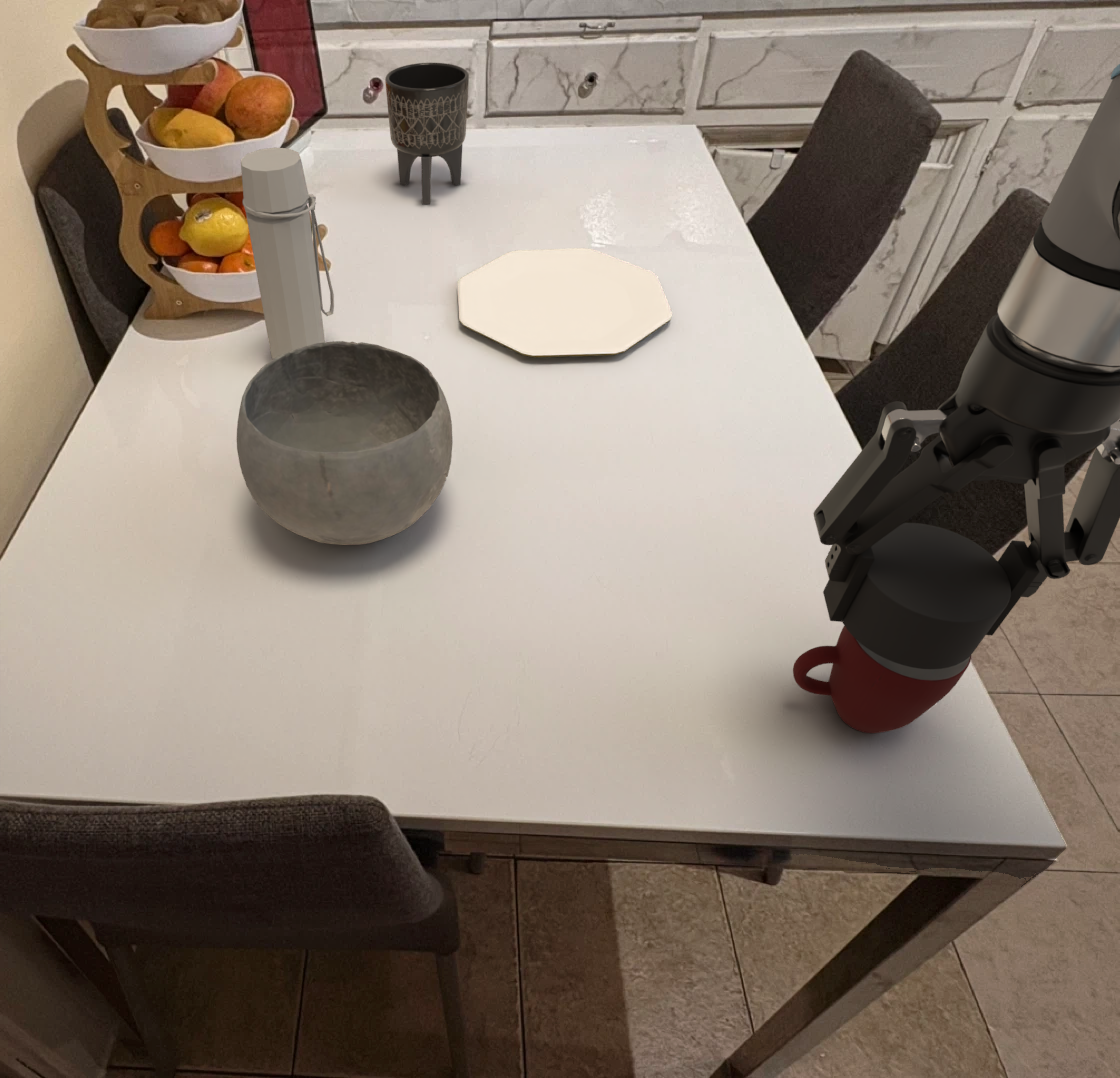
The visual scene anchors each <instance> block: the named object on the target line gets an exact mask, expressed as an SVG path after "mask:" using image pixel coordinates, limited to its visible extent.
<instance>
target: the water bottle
mask: <svg viewBox="0 0 1120 1078" xmlns="http://www.w3.org/2000/svg"><path fill="white" fill-rule="evenodd" d="M240 171H241V182H242V193H243V198H242V206H243V208H244V211H245V216H246V221H247V228H248V232H249V238H250V243H251V250H252V255H253V261H254V266H255V267H254V268H255V272H256V279H257V284H258V289H259V294H260V300H261V306H262V307H261V308H262V312H263V317H264V322H265V328H266V334H267V340H268V346H269V351H270V356H271V361H272V360H273V359H275V358H276V357H278V356H280V355H283V354H285V353H287V352H290V351H293V350H295V349H298V348H301V347H305V346H308V345H312V344H316V343H323V342H326V337H325V330H324V321H323V315H325V316H326V317H329V316H333V314H334V311H335V294H334V290H333V285H332V281H331V276H330V272H329V268H328V264H327V260H326V259H327V258H326V255H325V250H324V246H323V242H322V238H321V233H320V230H319V229H320V228H319V225H318V221H317V217H316V212H315V210H316V204H317V202H316V200H317V197H316V196H315V195H314V194H313V193H309V190H308V185H307V180H306V176H305V172H304V167H303V162H302V157H301V155H300V153H299V152H298V151H297V150H294V149H291V148H287V147H269V148H267V147H266V148H260V149H256V150H254V151H251V152H248V153H247V154H245V155H244V156H243V157H242V158H241V159H240ZM317 241H318V242H317ZM317 244H318V245H317ZM318 246H319V249H320V253H321V258H322V262H323V267H324V272H325V276H326V281H327V284H328V290H329V296H330V297H329V298H330V300H329V301H330V305H329V306H330V307H329V310H328V311H327V312H326V311H325V310H324V306H323V295H322V287H321V286H322V285H321V283H322V282H321V275H320V266H319V265H320V264H319V256H318V255H319V253H318Z"/></svg>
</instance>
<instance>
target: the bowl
mask: <svg viewBox="0 0 1120 1078" xmlns="http://www.w3.org/2000/svg"><path fill="white" fill-rule="evenodd" d="M448 404H449V403H448V401H447V398H446V396H445V392H444V391H443V389H442V387H441V385H440V384H439V382H438V381H437V379H436V378H435V376H434V375H433V373H432V371H431V370H430V369H429V368H428V367H427V366H425V365H424V364H423V363H422V362H421V361H419V360H418V359H416V358H415V357H413V356H410V355H408V354H405V353H403V352H401V351H400V352H399V351H397V350H394V349H391V348H388V347H385V346H382V345H379V344H374V343H368V342H355V341H344V340H340V341H325V342H323V343H316V344H312V345H308V346H305V347H301V348H298V349H295V350H293V351H290V352H287V353H285V354H283V355H280V356H278V357H276V358H275V359H273V360H272V359H271V360H270V361H268V362H267V363H265V364H264V365H263V366H261V367H260V369H259V370H258V371H257V372H256V374H255V375H254V376H253V377H251V379H250V381H249V382H248V383H247V385H246V387H245V389H244V391H243V394H242V395H241V401H240V405H239V410H238V416H237V426H236V451H237V457H238V463H239V467H240V470H241V474H242V477H243V480H244V483H245V485H246V488H247V490H248V491H249V493H250V495H251V497H252V499H253V500H254V502H255V503H256V504H257V505H258V506H259V507H260V509H261V510H262V511H263V512H264V513H265V514H266V515H267V516H268V517H270V518H271V520H273V521H274V522H275V523H277V524H278V525H279V526H281V527H283V528H284V529H286V530H288V531H289V532H292V533H293V534H296V535H299V536H301V537H303V538H306V539H309V540H311V541H314V542H318V543H320V544H329V545H340V546H354V545H355V546H357V545H366V544H371V543H375V542H379V541H382V540H384V539H388V538H390V537H392V536H395V535H397V534H399V533H401V532H403V531H404V530H407V529H408V528H409V527H411V526H413V525H414V524H415V523H417V522H418V520H419V519H420V518H422V517H423V516H424V515H425V514H426V513H427V512H428V511H429V509H431V507H432V505H433V504H434V502H435V501H436V499H437V498H438V496H439V495H440V493H441V492H442V489H443V488H444V486H445V483H446V481H447V477H448V476H449V472H450V468H451V465H452V456H453V455H452V454H453V442H454V441H453V423H452V416H451V411H450V408H449V405H448Z"/></svg>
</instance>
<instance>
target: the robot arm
mask: <svg viewBox="0 0 1120 1078" xmlns="http://www.w3.org/2000/svg"><path fill="white" fill-rule="evenodd" d="M1110 80H1111V82H1110V84H1109V86H1108V87H1107V90H1106V92H1105V94H1104V96H1103V98H1102V99H1101V102H1100V103H1099V106H1098V108H1097V109H1096V112H1095V114H1094V116H1093V117H1092V119H1091V121H1090V123H1089V126H1088V128H1087V129H1086V132H1085V133H1084V135H1083V137H1082V139H1081V141H1080V143H1079V145H1078V147H1077V149H1076V150H1075V153H1074V154H1073V157H1072V159H1071V161H1070V163H1069V164H1068V167H1067V169H1066V171H1065V173H1064V174H1063V177H1062V179H1061V181H1060V182H1059V185H1058V187H1057V189H1056V190H1055V192H1054V195H1053V197H1052V199H1051V200H1050V203H1049V204H1048V207H1047V209H1046V210H1045V212H1044V215H1043V216H1042V218H1041V222H1040V223H1039V225H1038V227H1037V228H1036V230H1035V232H1034V234H1033V236H1032V238H1031V240H1030V242H1029V244H1028V246H1027V247H1026V249H1025V252H1024V254H1023V255H1022V257H1021V259H1020V261H1019V263H1018V265H1017V267H1016V269H1015V271H1014V273H1013V274H1012V277H1011V278H1010V280H1009V282H1008V285H1007V287H1006V288H1005V290H1004V292H1003V294H1002V296H1001V298H1000V300H999V302H998V304H997V313H996V314H994V315H993V316H992V317H991V318H989V320H988V322H987V324H986V325H985V327H984V329H983V331H982V333H981V336H980V337H979V340H978V341H977V343H976V345H975V347H974V349H973V351H972V353H971V355H970V357H969V358H968V360H967V362H966V363H965V367H964V369H963V372H962V375H961V377H960V381H959V384H958V387H957V389H956V391H955V392H954V393H953V394H951V396H950V397H949V398H948V399H946V400H945V401H944V402H943V403H940V405H939V406H938V407H937V409H922V410H921V409H919V410H908V409H907V406H906V404H905V403H904V402H903V401H899V400H895V401H891V402H889V403H887V404H886V405H885V406H884V407H883V409H882V411H881V415H880V419H879V421H878V425H877V428H876V432H875V433H874V435H873V436H872V437H871V438H870V440H869V441H868V442H867V444H866V445H865V446H863V449H862V450H861V451H860V452H859V453H858V455H857V456H856V457H855V458H854V460H853V461H852V463H851V464H850V465H849V467H848V468H847V469H846V470H845V472H844V473H843V474H842V475H841V476H840V478H839V479H838V481H837V482H836V483H835V484H834V485H833V487H832V488H831V489H830V491H828V492H827V494H826V496H825V497H824V498H823V500H821V502H820V503H819V505H818V506H817V507H816V508H815V509H814V511H813V518H814V523H815V527H816V530H817V534H818V537H819V541H820V543H821V544H822V545H824V546H831V547H830V549H829V551H828V552H827V556H826V557H825V560H824V564H825V569H826V573H827V576H828V581H827V583H826V585H825V587H824V589H823V591H822V593H823V596H824V601H825V605H826V610H827V613H828V617H829V621H830V622H840V623H841V622H842V620H843V618H844V616H845V614H846V612H847V611H848V609H849V607H850V605H851V603H852V601H853V599H854V597H855V595H856V594H857V592H858V590H859V588H860V586H861V584H862V582H863V580H864V578H865V577H866V575H867V573H868V571H869V569H870V567H871V565H872V563H873V561H874V559H875V557H874V554H873V551H872V548H871V546H873V545H874V544H875V543H877V542H878V541H879V540H881V539H882V538H884V537H885V536H886V535H888V534H889V533H890V532H892V531H893V530H895V529H896V528H897V527H899V526H900V525H901V524H903V523H907V521H908V520H910V519H911V518H912V517H914V516H915V515H917V514H918V513H920V512H921V511H922V510H923V509H925V508H926V507H928V506H930V505H931V504H932V503H933V502H935V501H936V500H937V499H939V498H940V497H941V496H943V495H944V494H947V493H948V494H955V493H958V492H959V491H960V490H962V489H963V488H964V487H966V486H967V485H969V484H970V483H971V482H973V481H975V482H986V481H987V482H988V481H995V480H1000V481H1002V482H1003V481H1004V482H1007V483H1009V484H1022V485H1023V488H1024V498H1025V510H1026V523H1027V533H1028V540H1029V542H1030V544H1029V545H1027V543H1026V541H1024V540H1014V539H1013V540H1011V541H1010V542H1009V544H1008V545H1007V547H1006V548H1005V550H1004V552H1003V553H1002V554H1001V556H1000V557H999V559H998V560H997V561H998V562H999V564H1000V565H1001V566H1002V568H1003V569H1004V571H1005V572H1006V574H1007V576H1008V579H1009V582H1010V587H1011V596H1010V600H1009V603H1008V604H1007V606H1006V608H1005V609H1004V611H1003V612H1002V613H1001V615H1000V616H999V617H998V619H997V620H996V622H995V623H994V624H993V626H992V627H991V628H990V630H989V631H988V633H987V634H986V635H985V636H993V635H994V634H995V633H996V631H997V630H998V629H999V627H1000V626H1001V624H1002V623H1003V622H1004V621H1005V619H1006V618H1007V617H1008V615H1009V613H1011V611H1012V610H1013V609H1014V607H1015V606H1016V605H1017V603H1018V602H1019V601H1020V599H1021V598H1030V597H1032V596H1033V595H1034V594H1036V593H1037V591H1038V590H1039V589H1040V587H1041V586H1042V585H1043V583H1044V582H1045V581H1046V579H1048V578H1049V579H1053V580H1058V579H1062V578H1065V577H1066V576H1068V575H1069V574H1071V568H1070V566H1069V565H1068V563H1069V562H1077V561H1078V562H1079V563H1080V564H1081V565H1082V566H1092V565H1096V564H1098V563H1100V562H1101V561H1102V560H1103V559H1104V556H1105V554H1106V552H1107V549H1108V547H1109V544H1110V542H1111V541H1112V538H1113V535H1114V533H1115V530H1116V528H1117V526H1118V523H1119V521H1120V63H1119V64H1117V65H1116V67H1115V68H1113V70H1112V73H1111V74H1110ZM934 434H939V435H938V436H936V437H935V438H934V439H933V440H931V441H930V442H929V443H927V444H926V445H925V446H924V447H923V448H922V445H921V444H923V443H924V441H925V440H926V439H927V438H928V437H930V436H933V435H934ZM921 449H922V450H921ZM1092 450H1094V451H1093V454H1092V456H1091V459H1090V461H1089V464H1088V467H1087V469H1086V473H1085V475H1084V478H1083V481H1082V484H1081V486H1080V489H1079V492H1078V495H1077V497H1076V500H1075V503H1074V505H1073V508H1072V511H1071V513H1070V516H1069V518H1068V522H1067V524H1066V527H1065V520H1064V519H1065V518H1064V498H1063V497H1064V496H1063V495H1065V494H1066V476H1065V475H1066V474H1065V466H1066V464H1068V463H1070V462H1072V461H1074V460H1075V459H1077V458H1079V457H1081V456H1083V455H1085V454H1087V453H1088V452H1090V451H1092ZM919 451H921V452H920V454H919V457H918V458H917V459H916V460H914V462H912V463H911V464H909V465H908V466H907V467H906V468H904V469H903V470H902V468H903V467H904V465H905V464H906V462H907V460H908V459H909V457H910V455H911V453H917V452H919ZM949 459H950V460H951V462H950V460H949ZM951 463H952V464H951ZM952 465H953V466H952ZM900 470H902V471H901V472H900ZM842 623H843V622H842Z"/></svg>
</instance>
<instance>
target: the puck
mask: <svg viewBox="0 0 1120 1078" xmlns="http://www.w3.org/2000/svg"><path fill="white" fill-rule="evenodd" d="M871 548H872V551H873V554H874V557H875V559H874V561H873V563H872V565H871V567H870V569H869V571H868V573H867V575H866V577H865V578H864V580H863V582H862V584H861V586H860V588H859V590H858V592H857V594H856V595H855V597H854V599H853V601H852V603H851V605H850V607H849V609H848V611H847V612H846V614H845V616H844V618H843V620H842V624H843V627H844V626H845V627H846V629H847V630H848V631H849V632H850V633H851V635H852V636H853V637H854V638H855V639H856V640H857V641H859V642H860V643H861V644H862V645H864V646H865V647H866V648H867V649H869V650H871V651H872V652H874V653H875V654H877V655H879V656H881V657H883V658H885V659H887V660H890V661H892V662H895V663H898V664H901V665H904V666H908V667H913V668H919V669H943V668H949V667H952V666H955V665H957V664H959V663H962V662H963V661H965V660H966V659H967V658H969V657H970V656H971V657H972V655H973V654H974V653H975V651H976V649H977V648H978V646H979V645H980V644H981V643H982V641H983V640H984V638H985V637H986V636H987V635H986V634H987V633H988V631H989V630H990V628H991V627H992V626H993V624H994V623H995V622H996V620H997V619H998V617H999V616H1000V615H1001V613H1002V612H1003V611H1004V609H1005V608H1006V606H1007V604H1008V603H1009V600H1010V596H1011V587H1010V582H1009V579H1008V576H1007V574H1006V572H1005V571H1004V569H1003V568H1002V566H1001V565H1000V564H999V562H998V560H997V559H996V558H995V557H994V556H993V555H992V554H991V553H990V552H989V551H987V549H985V548H983V547H982V546H981V545H979V544H978V543H976V542H975V541H973V540H971V539H969V538H967V537H966V536H964V535H962V534H959V533H957V532H954V531H952V530H951V529H950V530H949V529H946V528H943V527H940V526H937V525H932V524H926V523H921V522H920V523H918V522H904V523H903V524H901V525H900V526H899V527H897V528H896V529H895V530H893V531H892V532H890V533H889V534H888V535H886V536H885V537H884V538H882V539H881V540H879V541H878V542H877V543H875V544H874V545H873V546H871Z"/></svg>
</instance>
